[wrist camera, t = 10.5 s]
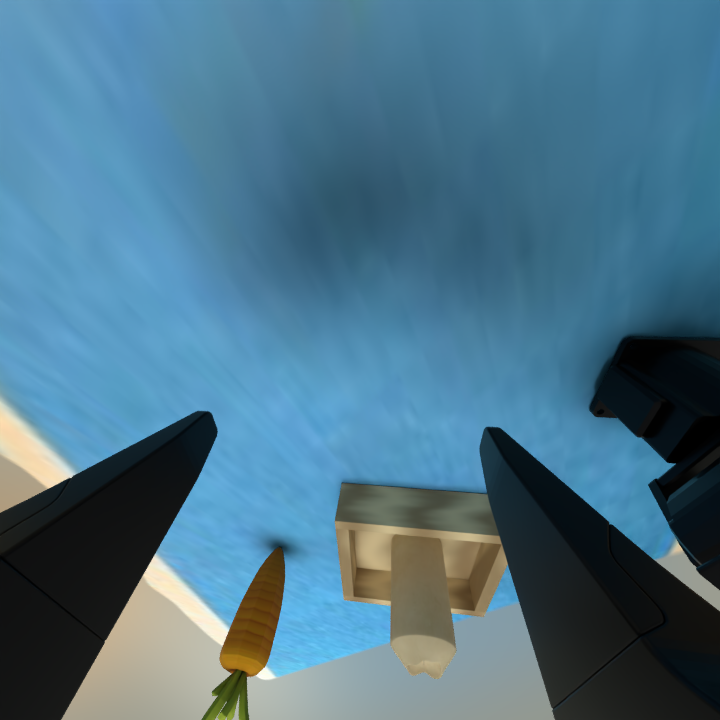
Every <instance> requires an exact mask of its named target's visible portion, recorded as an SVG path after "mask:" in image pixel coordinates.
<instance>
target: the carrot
mask: <svg viewBox="0 0 720 720" xmlns="http://www.w3.org/2000/svg"><path fill="white" fill-rule="evenodd" d="M284 583H285V562H284V554H283V551H282V549H281V547H278V548H277V549H275V550H274V551H273V552H272V553H271V554H270V555H269V557H268V558H267V559H266V560H265V562H264V563H263V564H262V566H261V567H260V569H259V570H258V572H257V574H256V575H255V577H254V579H253V581H252V583H251V584H250V586H249V588H248V590H247V592H246V594H245V596H244V598H243V600H242V602H241V604H240V606H239V608H238V611H237V613H236V615H235V618H234V620H233V622H232V625H231V627H230V630H229V632H228V635H227V637H226V640H225V642H224V645H223V647H222V650H221V653H220V663H221V665H222V667H223V668H224V669H226V670H227V671H229V672H230V673H232V674H231V675H230V676H229V677H228V678H227V679H226V680H225V681H223V682H222V683H221V684H220V685H219V686H217V687H216V688H215V689H214V690H213V691H212V696H218V697H217V698H216V699H215V701H214V702H213V704H212V705H211V706H210V708H209V709H208V711H207V712H206V714H205V715H204V717H203V718H202V720H215V718H216V716H217V715H218V714H219V712H220V710H221V709H222V707H223V706H224V704H225V702H226V701H227V703H226V704H225V706H224V708H223V709H222V711H221V712H220V714H219V716H218V719H219V720H225V718H226V717H227V720H231V719H232V718H233V717H234V713H235V709H236V704H237V701H238V697H239V694H240V697H239V720H249V715H248V700H247V677H249V676H250V677H251V676H255V675H257V674H258V673H259V672H260V671H261V670H262V669H263V668H264V667H265V666H266V664H267V662H268V659H269V656H270V652H271V648H272V644H273V640H274V637H275V633H276V628H277V624H278V620H279V615H280V611H281V606H282V599H283V592H284Z"/></svg>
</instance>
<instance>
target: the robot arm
mask: <svg viewBox="0 0 720 720" xmlns="http://www.w3.org/2000/svg"><path fill="white" fill-rule="evenodd" d="M632 343H634V344H633V345H632V346H630V345H631V344H632ZM598 410H599V411H598ZM590 412H591V413H592V414H593V415H594V416H595V417H607V418H618V419H619V420H620V421H621V422H622V423H623V424H624V425H625V426H626V427H627V428H628V429H629V430H630V431H631V432H632V433H633V434H634V435H635V436H637V437H640V438H643V439H644V440H645V441H646V442H647V443H648V444H649V445H650V446H651V447H652V448H653V449H654V450H655V451H656V452H657V453H658V454H659V455H660V456H661V457H662V458H663V459H664V460H665V461H666V462H667V463H676V464H675V465H674V466H673V467H672V468H670V469H669V470H668V471H667V472H666V473H664V474H663V475H662V476H661V477H660V478H658V479H654V480H653V481H652V482H651V483H649V484H648V486H649V488H650V490H651V491H652V493H653V495H654V497H655V499H656V501H657V503H658V505H659V507H660V509H661V510H662V512H663V514H664V516H665V518H666V520H667V522H668V524H669V527H670V529H671V531H672V532H673V534H674V535H675V537H676V539H677V541H678V543H679V545H680V546H681V548H682V549H683V551H684V552H685V554H686V555H687V557H688V558H689V560H690V561H691V562H692V564H693V565H695V566H696V567H697V568H696V570H697V571H698V572H699V574H700V575H702V576H703V577H704V578H705V579H706V580H708V581H709V582H710V583H712V584H713V585H714V586H715V587H716V588H718V589H719V590H720V338H687V337H639V336H632V337H628V338H626V339H625V340H623V342H622V343H621V345H620V347H619V349H618V351H617V353H616V355H615V358H614V360H613V362H612V364H611V366H610V368H609V370H608V372H607V374H606V376H605V378H604V380H603V383H602V385H601V387H600V389H599V391H598V393H597V395H596V397H595V399H594V401H593V403H592V405H591V408H590ZM217 432H218V431H217V427H216V424H215V421H214V418H213V416H212V414H211V413H210V412H209V411H196V412H194V413H192V414H191V415H189V416H187V417H185V418H183V419H181V420H179V421H177V422H175V423H173V424H171V425H170V426H168V427H166V428H164V429H162V430H160V431H158V432H156V433H154V434H152V435H150V436H149V437H147V438H145V439H143V440H141V441H139V442H137V443H135V444H133V445H131V446H129V447H128V448H126V449H124V450H122V451H120V452H118V453H116V454H114V455H112V456H110V457H108V458H107V459H105V460H103V461H101V462H99V463H97V464H95V465H93V466H91V467H89V468H87V469H86V470H84V471H82V472H80V473H78V474H76V475H74V476H73V477H72V478H68V479H66V480H64V481H63V482H61V483H59V484H57V485H55V486H53V487H51V488H49V489H47V490H45V491H43V492H41V493H39V494H37V495H35V496H34V497H32V498H30V499H28V500H26V501H24V502H21V503H19V504H17V505H15V506H13V507H11V508H9V509H7V510H5V511H3V512H1V513H0V720H61V719H62V717H63V715H64V714H65V712H66V710H67V708H68V707H69V705H70V703H71V701H72V699H73V698H74V696H75V694H76V693H77V691H78V689H79V687H80V685H81V684H82V682H83V680H84V678H85V677H86V675H87V673H88V671H89V670H90V668H91V666H92V664H93V663H94V661H95V659H96V657H97V656H98V654H99V652H100V650H101V648H102V647H103V645H104V643H105V640H106V639H107V638H108V636H109V634H110V632H111V630H112V629H113V627H114V625H115V623H116V622H117V620H118V618H119V616H120V615H121V613H122V611H123V609H124V608H125V606H126V604H127V602H128V601H129V598H130V597H131V595H132V594H133V592H134V590H135V588H136V586H137V585H138V583H139V581H140V579H141V578H142V576H143V574H144V572H145V571H146V569H147V567H148V565H149V564H150V562H151V560H152V558H153V557H154V555H155V553H156V551H157V549H158V548H159V546H160V544H161V542H162V541H163V539H164V537H165V535H166V534H167V532H168V530H169V528H170V527H171V525H172V523H173V521H174V520H175V518H176V516H177V514H178V513H179V511H180V509H181V507H182V505H183V504H184V502H185V500H186V498H187V497H188V495H189V493H190V491H191V490H192V488H193V486H194V484H195V482H196V481H197V479H198V477H199V475H200V473H201V471H202V468H203V466H204V464H205V462H206V459H207V457H208V455H209V453H210V450H211V448H212V446H213V444H214V441H215V439H216V437H217ZM480 457H481V462H482V468H483V473H484V478H485V484H486V489H487V495H488V499H489V503H490V507H491V510H492V514H493V517H494V520H495V524H496V527H497V530H498V533H499V537H500V540H501V543H502V547H503V550H504V553H505V556H506V560H507V563H508V566H509V570H510V573H511V576H512V579H513V583H514V586H515V589H516V593H517V596H518V599H519V602H520V606H521V609H522V612H523V615H524V619H525V622H526V625H527V629H528V632H529V635H530V638H531V642H532V645H533V648H534V651H535V655H536V658H537V661H538V665H539V668H540V671H541V674H542V678H543V681H544V684H545V688H546V691H547V694H548V697H549V701H550V704H551V707H552V708H553V710H552V711H553V715H554V718H555V720H720V611H719V610H717V609H716V608H715V607H713V606H712V605H711V604H710V603H708V602H707V601H706V600H704V599H703V598H702V597H700V596H699V595H698V594H696V593H695V592H694V591H693V590H691V589H690V588H689V587H688V586H686V585H685V584H684V583H682V582H681V581H680V580H679V579H677V578H676V577H675V576H674V575H672V574H671V573H670V572H669V571H667V570H666V569H665V568H663V567H662V566H661V565H660V564H658V563H657V562H656V561H655V560H653V559H652V558H651V557H650V556H649V555H647V554H646V553H645V552H644V551H643V550H641V549H640V548H639V547H638V546H637V545H636V544H634V543H633V542H632V541H631V540H630V539H628V538H627V537H626V536H625V535H624V534H623V533H621V532H620V531H619V530H618V529H617V528H616V527H614V526H613V525H611V524H610V525H609V522H608V521H607V520H606V519H605V518H604V517H603V516H602V515H600V514H599V513H598V512H597V511H596V510H595V509H593V508H592V507H591V506H590V505H589V504H588V503H587V502H585V501H584V500H583V499H582V498H581V497H580V496H578V495H577V494H576V493H575V492H574V491H573V490H572V489H570V488H569V487H568V486H567V485H566V484H565V483H563V482H562V481H561V480H560V479H559V478H558V477H556V476H555V475H554V474H553V473H552V472H551V471H550V470H548V469H547V468H546V467H545V466H544V465H543V464H541V463H540V462H539V461H538V460H537V459H536V458H535V457H533V456H532V455H531V454H530V453H529V452H528V451H526V450H525V449H524V448H523V447H522V446H521V445H519V444H518V443H517V442H516V441H515V440H514V439H513V438H511V437H510V436H509V435H508V434H507V433H506V432H504V431H503V430H502V429H501V428H499V427H486V428H485V429H484V431H483V435H482V439H481V443H480Z"/></svg>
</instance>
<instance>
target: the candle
mask: <svg viewBox="0 0 720 720" xmlns="http://www.w3.org/2000/svg"><path fill="white" fill-rule="evenodd" d="M390 644H391V647H392V648H393V650H394V652H395V653H396V655H397V656H398V657H399V659H400V660H401V661H402V663H403V665H404V666H405V668H407V670H408V672H409V673H410V674H411V675H413V676H414V675H417V674H420V673H422V672H425V673H427V674H428V675H429V676H431V677H432V678H434V679H439V678H440V677H441V676H442V674H443V672H444V670H445V669H446V667H447V666H448V664H449V663H450V661H451V660H452V658H453V656H454V655H455V653H456V644H455V637H454V629H453V622H452V614H451V607H450V600H449V592H448V585H447V578H446V571H445V563H444V556H443V549H442V544H441V541H440V539H439V538H430V537H419V536H409V535H398V534H396V535H395V536H394V537H393V539H392V544H391V632H390Z"/></svg>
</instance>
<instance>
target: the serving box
mask: <svg viewBox="0 0 720 720" xmlns="http://www.w3.org/2000/svg"><path fill="white" fill-rule="evenodd" d="M335 527H336V536H337V544H338V553H339V562H340V570H341V579H342V588H343V596H344V600H347V601H356V602H364V603H372V604H380V605H389V606H391V544H392V539H393V537H394V536H395V535H396V534H398V535H409V536H419V537H430V538H439V539H440V541H441V544H442V549H443V556H444V563H445V571H446V578H447V585H448V592H449V600H450V607H451V613H455V614H463V615H471V616H480V617H484V615H485V613H486V611H487V609H488V606H489V604H490V602H491V600H492V598H493V595H494V593H495V591H496V589H497V587H498V584H499V582H500V580H501V578H502V575H503V573H504V571H505V569H506V567H507V564H508V563H507V560H506V556H505V553H504V550H503V547H502V543H501V540H500V537H499V533H498V530H497V527H496V524H495V520H494V517H493V514H492V510H491V507H490V503H489V499H488V495H487V494H478V493H465V492H452V491H439V490H426V489H414V488H401V487H388V486H375V485H362V484H349V483H342V485H341V490H340V496H339V501H338V506H337V512H336V517H335Z"/></svg>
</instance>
